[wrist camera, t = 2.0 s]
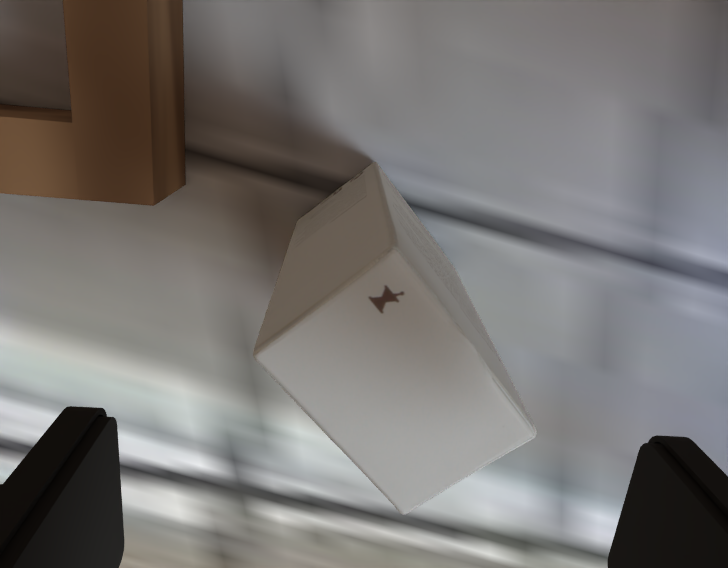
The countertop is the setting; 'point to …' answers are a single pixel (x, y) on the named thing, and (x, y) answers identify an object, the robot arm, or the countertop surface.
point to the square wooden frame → (106, 110)
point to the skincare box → (388, 346)
